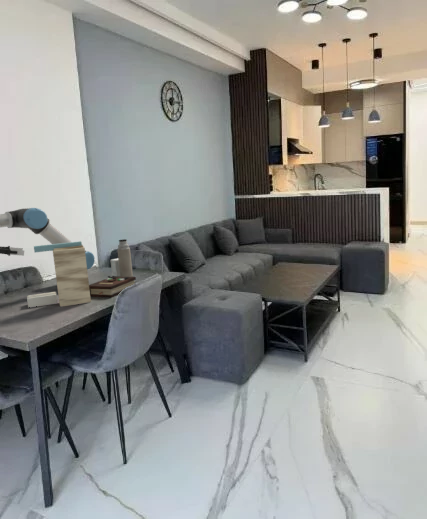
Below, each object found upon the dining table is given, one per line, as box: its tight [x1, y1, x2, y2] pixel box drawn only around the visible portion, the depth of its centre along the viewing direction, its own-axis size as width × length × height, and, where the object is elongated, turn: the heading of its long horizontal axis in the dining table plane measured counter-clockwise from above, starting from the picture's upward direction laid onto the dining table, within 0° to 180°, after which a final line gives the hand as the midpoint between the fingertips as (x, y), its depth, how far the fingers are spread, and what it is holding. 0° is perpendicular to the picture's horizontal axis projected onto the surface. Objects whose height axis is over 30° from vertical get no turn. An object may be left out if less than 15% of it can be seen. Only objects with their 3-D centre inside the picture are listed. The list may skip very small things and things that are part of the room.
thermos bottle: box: [117, 238, 134, 277], centre depth 283 cm, size 8×8×28 cm
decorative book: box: [89, 275, 137, 299], centre depth 261 cm, size 19×8×30 cm
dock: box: [26, 291, 58, 309], centre depth 243 cm, size 8×15×5 cm, turn 111°
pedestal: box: [52, 244, 92, 307], centre depth 239 cm, size 10×16×31 cm, turn 111°
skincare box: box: [110, 257, 120, 277], centre depth 291 cm, size 8×6×15 cm
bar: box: [33, 240, 83, 253], centre depth 235 cm, size 3×24×3 cm, turn 111°
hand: (23, 251), depth 240 cm, fingers open, 13 cm apart
